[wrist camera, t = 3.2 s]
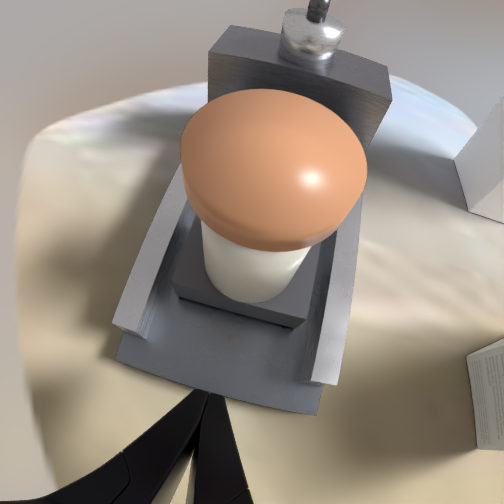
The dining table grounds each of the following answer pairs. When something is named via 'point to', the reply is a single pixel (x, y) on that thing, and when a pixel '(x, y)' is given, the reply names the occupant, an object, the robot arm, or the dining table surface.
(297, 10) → the potentiometer
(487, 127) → the milk
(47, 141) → the dining table surface
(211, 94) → the mount
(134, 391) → the dining table surface
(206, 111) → the knob
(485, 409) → the supplement box
